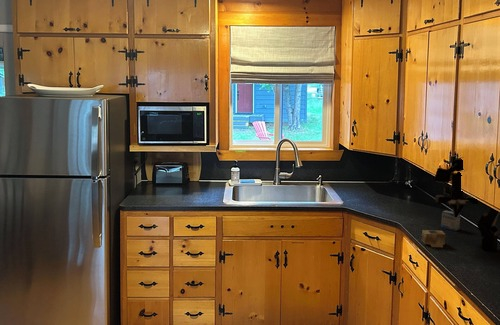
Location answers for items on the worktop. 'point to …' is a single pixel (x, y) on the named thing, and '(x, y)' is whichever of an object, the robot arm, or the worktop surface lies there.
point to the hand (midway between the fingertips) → (455, 217)
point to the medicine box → (450, 221)
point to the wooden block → (433, 237)
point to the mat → (436, 245)
